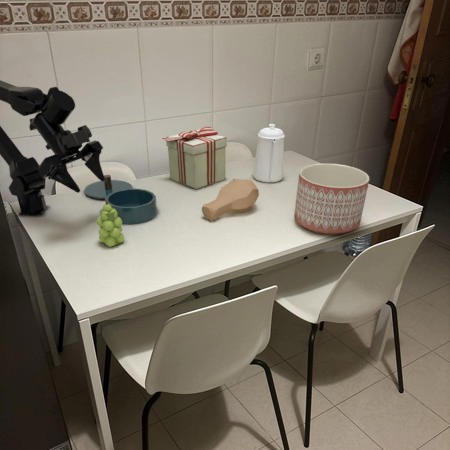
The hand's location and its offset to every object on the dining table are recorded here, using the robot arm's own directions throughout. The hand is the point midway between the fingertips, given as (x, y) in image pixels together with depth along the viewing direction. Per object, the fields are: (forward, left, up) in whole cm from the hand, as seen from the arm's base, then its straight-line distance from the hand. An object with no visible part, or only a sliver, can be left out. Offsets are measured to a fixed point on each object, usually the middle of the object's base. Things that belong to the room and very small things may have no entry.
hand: (91, 186), depth 118 cm
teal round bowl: (+8, +12, -13) cm, 19 cm away
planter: (+66, +5, -13) cm, 67 cm away
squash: (+38, +13, -13) cm, 42 cm away
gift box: (+26, +41, -13) cm, 51 cm away
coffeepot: (+53, +42, -13) cm, 69 cm away
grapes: (+5, -7, -13) cm, 15 cm away
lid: (-2, +29, -13) cm, 32 cm away
